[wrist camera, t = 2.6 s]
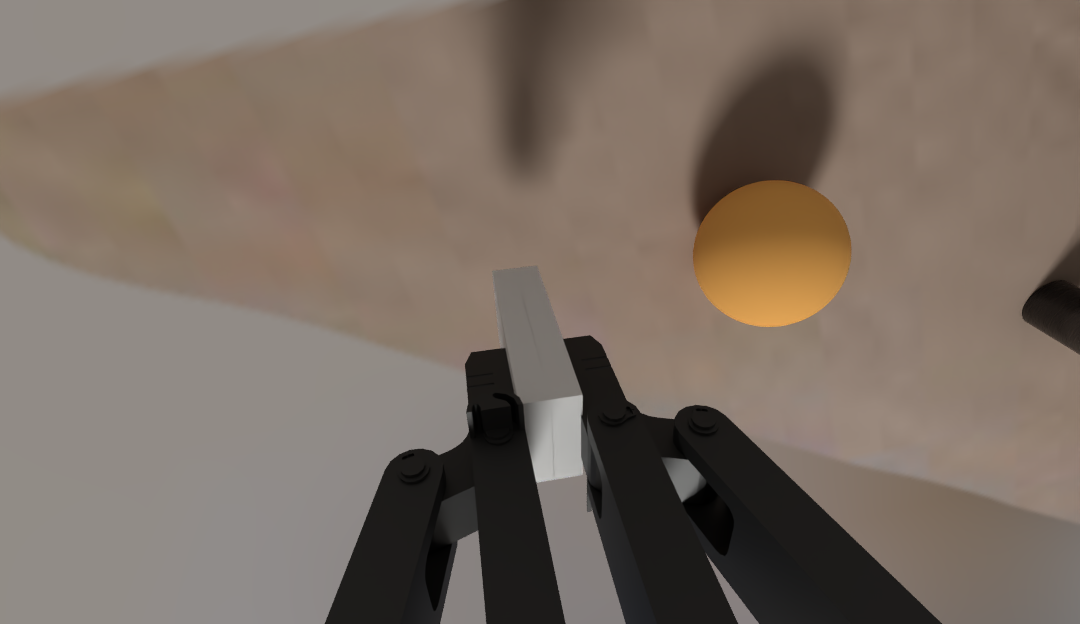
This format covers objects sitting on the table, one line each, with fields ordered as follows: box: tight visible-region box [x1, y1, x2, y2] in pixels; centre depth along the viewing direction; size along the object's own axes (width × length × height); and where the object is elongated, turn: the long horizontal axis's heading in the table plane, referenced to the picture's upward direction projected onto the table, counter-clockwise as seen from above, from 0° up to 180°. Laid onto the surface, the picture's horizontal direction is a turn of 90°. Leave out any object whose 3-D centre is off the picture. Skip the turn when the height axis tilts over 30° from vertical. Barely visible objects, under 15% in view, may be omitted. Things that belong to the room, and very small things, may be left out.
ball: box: [693, 180, 851, 327], centre depth 21 cm, size 6×6×6 cm
